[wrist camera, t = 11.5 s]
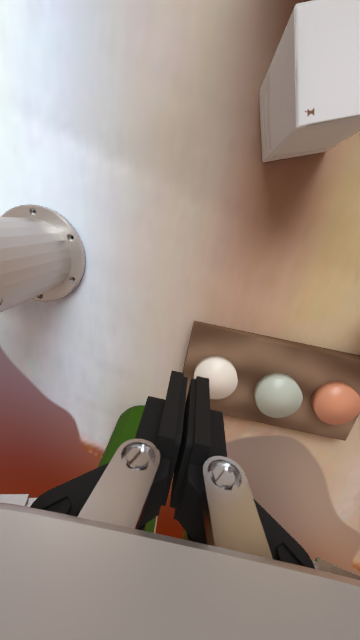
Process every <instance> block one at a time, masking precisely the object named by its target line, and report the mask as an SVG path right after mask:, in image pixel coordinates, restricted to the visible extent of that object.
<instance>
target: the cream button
mask: <svg viewBox="0 0 360 640" xmlns="http://www.w3.org/2000/svg"><path fill="white" fill-rule="evenodd" d="M197 376H200V377H204V378H209V388H210V399H222V398H225V397H227V396H229V395H231V394H232V393H233V392H234V390H235V389H236V387H237V383H238V378H237V373H236V369H235V367H234V365H233V364H232V362H231V361H229V360H228V359H226V358H224V357H221V356H209V357H206V358H204V359H202V360H201V361H200V362H199V363H198V364H197V365H196V367H195V370H194V379H196V377H197Z"/></svg>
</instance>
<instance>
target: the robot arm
mask: <svg viewBox="0 0 360 640" xmlns="http://www.w3.org/2000/svg"><path fill="white" fill-rule="evenodd" d="M35 210H36V213H35ZM72 236H73V237H74V239H72ZM84 269H85V252H84V248H83V244H82V241H81V239H80V237H79V235H78V233H77V232H76V230H75V229H74V227H73V226H72V225H71V224H70V223H69V222H68V221H67V220H66V219H65V218H64V217H63V216H62V215H60V214H59V213H57V212H56V211H54V210H51V209H49V208H47V207H43V206H39V205H21V206H17V207H14V208H12V209H10V210H8V211H7V212H5V213H4V214H3V215H2V216H1V217H0V312H2V311H5V310H7V309H9V308H11V307H14V306H16V305H18V304H20V303H23V302H25V301H27V300H29V299H34V300H38V301H52V300H57V299H59V298H62V297H64V296H66V295H68V294H69V293H70V292H72V291H73V290H74V289H75V288H76V287H77V285H78V284H79V283H80V281H81V279H82V277H83V273H84ZM74 278H75V280H74ZM187 381H188V377H184V373H181V372H176V371H172V373H171V377H170V382H169V387H168V391H167V396H166V400H164V399H159V398H155V397H150V396H148V399H147V402H146V405H145V408H144V411H143V414H142V417H141V420H140V424H139V427H138V430H137V433H136V436H135V439H131V440H127V441H126V442H124V443H122V444H121V445H120V447H119V448H118V449H117V451H116V453H115V454H114V456H113V458H112V459H111V461H110V462H109V463H107V464H105V465H103V466H100V467H98V468H96V469H94V470H92V471H90V472H88V473H85V474H83V475H81V476H79V477H77V478H75V479H72V480H70V481H68V482H66V483H64V484H62V485H59V486H57V487H55V488H53V489H51V490H49V491H47V492H46V493H43V494H42V495H40V496H39V497H38V498H29V494H1V495H0V640H360V576H357V575H355V574H353V573H351V572H348V571H346V570H344V569H342V568H340V567H338V566H335V565H333V564H331V563H329V562H327V561H325V560H323V559H320V558H318V557H317V558H316V560H313V559H310V557H309V555H308V554H307V552H305V550H304V549H303V548H302V547H301V546H300V544H298V542H297V541H295V540H294V538H292V537H291V536H290V535H289V534H288V533H287V532H286V531H285V530H284V529H283V528H282V527H281V526H280V525H279V524H278V523H277V522H276V521H275V520H274V519H273V518H272V517H271V516H270V515H269V514H268V513H267V512H266V511H265V510H264V509H263V508H262V507H261V506H260V505H259V504H258V503H257V502H256V501H255V500H254V499H253V496H252V493H251V490H250V487H249V484H248V481H247V478H246V475H245V474H244V471H243V470H242V468H241V467H240V466H239V465H238V464H237V463H236V462H234V461H233V460H231V459H229V458H227V452H226V442H225V431H224V421H223V413H222V412H220V411H216V410H211V409H210V388H209V378H204V377H200V376H197V377H196V379H193V378H191V382H190V386H189V390H188V394H187V399H186V391H187ZM185 401H186V403H185ZM173 473H174V476H173ZM172 477H173V483H172V492H171V500H170V507H172V508H175V514H174V519H176V520H178V521H179V522H180V524H181V525H182V527H183V528H184V529H185V530H184V536H183V539H179V538H174V537H169V536H165V535H160V534H156V533H151V532H146V531H145V527H146V523H148V522H149V521H151V520H152V519H154V518H155V517H157V516H158V515H159V511H160V507H161V505H164V506H165V505H166V501H167V497H168V493H169V489H170V485H171V481H172Z"/></svg>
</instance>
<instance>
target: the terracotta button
mask: <svg viewBox="0 0 360 640" xmlns="http://www.w3.org/2000/svg"><path fill="white" fill-rule="evenodd" d="M311 405H312V407H313V409H314V411H315V413H316V414H317V416H318V418H319V419H320V420H322V421H323V422H325V423H327V424H332V425H340V424H345V423H347V422H349V421H351V420H353V419H354V418H355V417H356V416H357V415H358V414H359V412H360V396H359V395H358V394H357V393H356V392H355V390H354V389H353V388H352V387H351V386H350V385H348V384H346V383H344V382H340V381H332V382H328V383H325V384H323V385H321V386H320V387H318V388H317V389H316V390H315V392H314V393H313V395H312V398H311Z"/></svg>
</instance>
